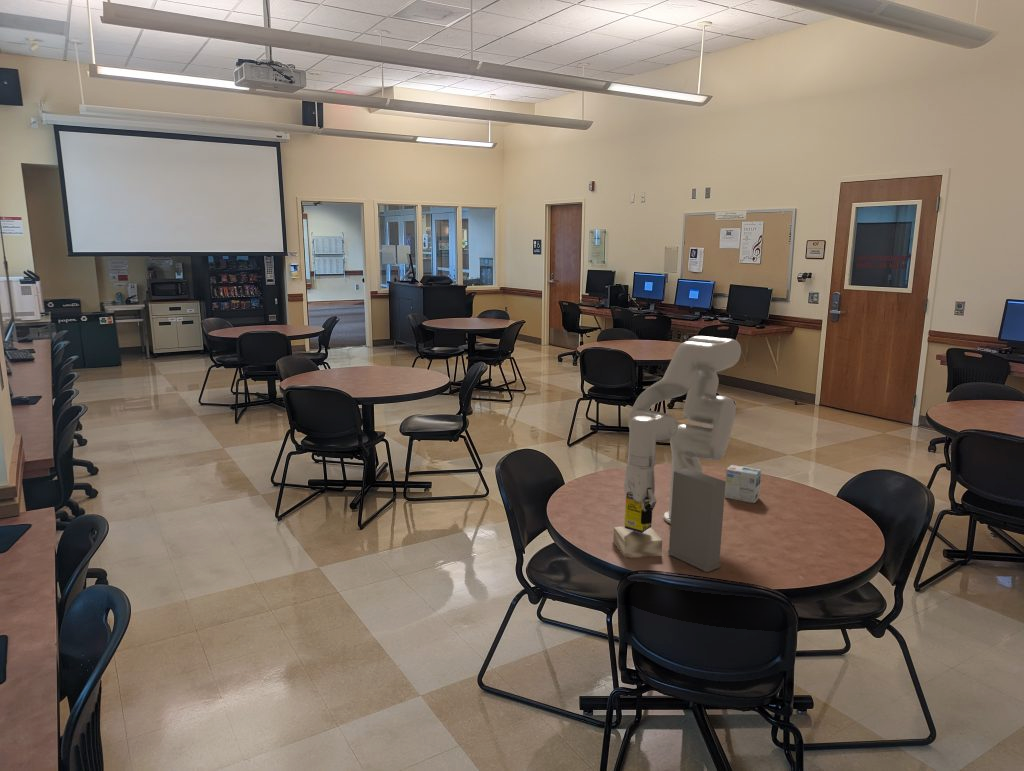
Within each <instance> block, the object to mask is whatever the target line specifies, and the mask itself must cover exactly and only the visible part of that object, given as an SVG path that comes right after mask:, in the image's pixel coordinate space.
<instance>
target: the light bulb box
mask: <svg viewBox="0 0 1024 771" xmlns="http://www.w3.org/2000/svg"><path fill="white" fill-rule="evenodd" d="M761 476H762V470H761V469H760V468H752V467H746V466H742V465H741V466H740V465H734V464H731V465H730V466H728V467H727V468H726V471H725V481H726V483H725V496H724V499H726V498H727V499H731V500H736V501H739V502H746V503H751V504H755V503H756V502H757V501H758V500H759V499H760V492H761V490H760V489H761Z"/></svg>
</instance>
